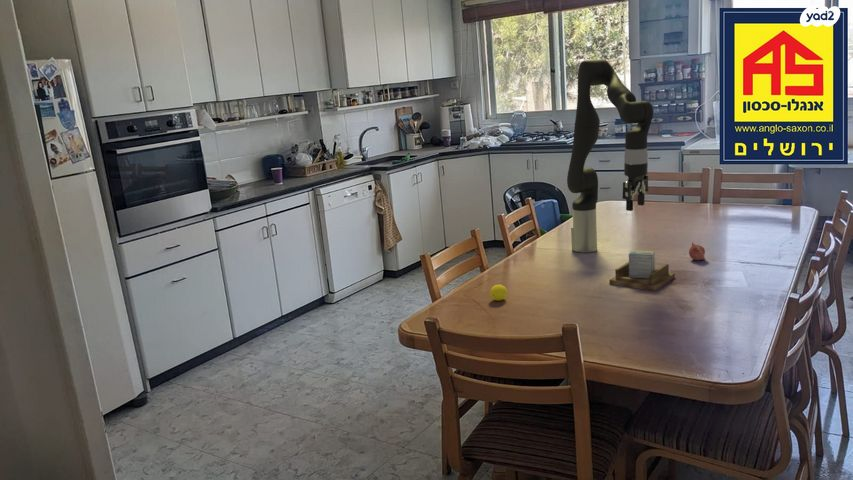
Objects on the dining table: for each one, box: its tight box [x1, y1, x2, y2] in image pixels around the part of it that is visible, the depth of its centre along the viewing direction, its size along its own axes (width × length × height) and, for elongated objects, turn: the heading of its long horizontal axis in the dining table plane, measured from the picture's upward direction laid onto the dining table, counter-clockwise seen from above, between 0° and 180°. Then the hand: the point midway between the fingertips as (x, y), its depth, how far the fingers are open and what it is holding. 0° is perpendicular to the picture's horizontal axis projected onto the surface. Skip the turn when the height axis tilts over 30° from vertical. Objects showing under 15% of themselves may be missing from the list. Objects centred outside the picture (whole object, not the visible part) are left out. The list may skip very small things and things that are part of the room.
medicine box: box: [628, 250, 656, 279], centre depth 226 cm, size 8×4×9 cm, turn 64°
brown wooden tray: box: [609, 261, 676, 292], centre depth 227 cm, size 16×16×5 cm
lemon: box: [489, 284, 508, 302], centre depth 220 cm, size 7×5×5 cm
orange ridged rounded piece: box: [688, 242, 707, 261], centre depth 244 cm, size 8×8×6 cm
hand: (635, 207), depth 230 cm, fingers open, 8 cm apart
